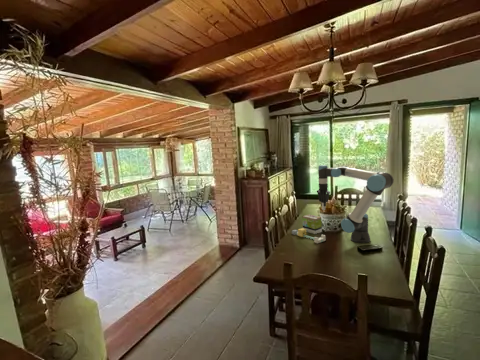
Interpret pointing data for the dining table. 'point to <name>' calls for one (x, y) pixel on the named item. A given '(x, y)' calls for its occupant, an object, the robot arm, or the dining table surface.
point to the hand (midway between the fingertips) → (323, 209)
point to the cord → (309, 237)
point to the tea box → (312, 224)
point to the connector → (294, 232)
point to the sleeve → (301, 232)
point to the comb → (319, 239)
